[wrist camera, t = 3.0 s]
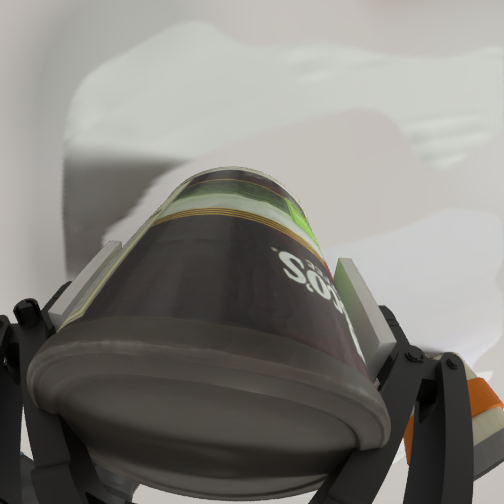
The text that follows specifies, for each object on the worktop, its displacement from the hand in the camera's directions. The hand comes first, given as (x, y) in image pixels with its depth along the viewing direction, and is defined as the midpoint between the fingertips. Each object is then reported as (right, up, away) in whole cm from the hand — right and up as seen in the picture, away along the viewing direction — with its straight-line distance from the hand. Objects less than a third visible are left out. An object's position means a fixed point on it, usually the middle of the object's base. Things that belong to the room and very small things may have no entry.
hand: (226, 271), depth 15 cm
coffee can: (0, +2, +3) cm, 4 cm away
